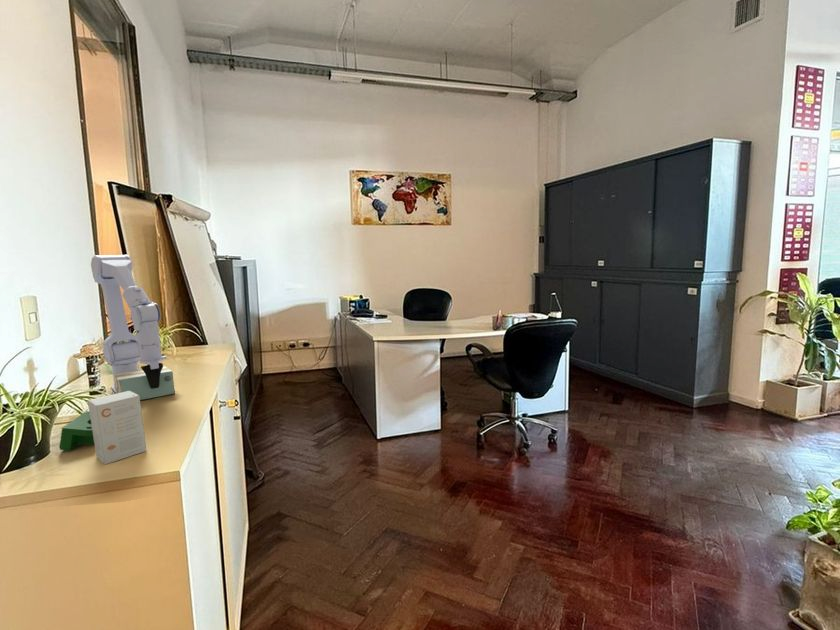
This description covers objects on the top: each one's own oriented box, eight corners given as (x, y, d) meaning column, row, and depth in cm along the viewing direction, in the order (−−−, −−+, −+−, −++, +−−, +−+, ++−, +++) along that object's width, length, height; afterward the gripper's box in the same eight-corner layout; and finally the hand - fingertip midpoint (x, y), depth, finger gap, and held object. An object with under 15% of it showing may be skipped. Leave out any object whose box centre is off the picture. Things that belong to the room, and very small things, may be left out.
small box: (137, 444, 103) (130, 389, 101) (147, 451, 98) (140, 394, 97) (95, 457, 96) (87, 399, 95) (104, 465, 92) (95, 405, 90)
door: (123, 402, 132) (120, 378, 131) (174, 392, 141) (171, 370, 140) (123, 403, 131) (120, 380, 130) (175, 393, 139) (172, 371, 138)
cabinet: (117, 395, 140) (114, 374, 139) (166, 385, 149) (164, 365, 148) (122, 403, 133) (119, 380, 132) (174, 392, 142) (171, 371, 141)
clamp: (91, 464, 103) (89, 436, 98) (61, 462, 101) (57, 433, 97) (113, 427, 113) (113, 400, 109) (87, 425, 111) (85, 397, 107)
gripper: (168, 345, 130) (173, 390, 132) (161, 339, 141) (166, 380, 143) (139, 349, 126) (145, 395, 127) (135, 342, 137) (140, 384, 139)
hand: (154, 387), depth 135 cm, fingers closed
